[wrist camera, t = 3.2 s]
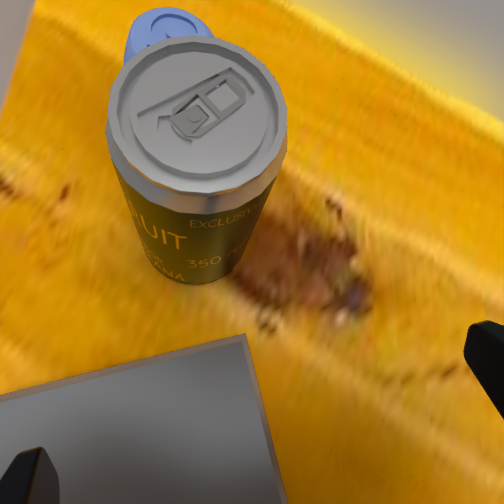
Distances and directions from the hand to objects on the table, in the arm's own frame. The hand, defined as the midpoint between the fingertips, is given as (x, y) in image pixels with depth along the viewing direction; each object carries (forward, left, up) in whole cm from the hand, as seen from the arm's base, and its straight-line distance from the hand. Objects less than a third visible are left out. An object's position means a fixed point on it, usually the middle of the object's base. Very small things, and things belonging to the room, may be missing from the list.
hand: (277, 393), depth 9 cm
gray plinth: (+3, +5, -14) cm, 15 cm away
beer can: (+2, -7, -14) cm, 16 cm away
